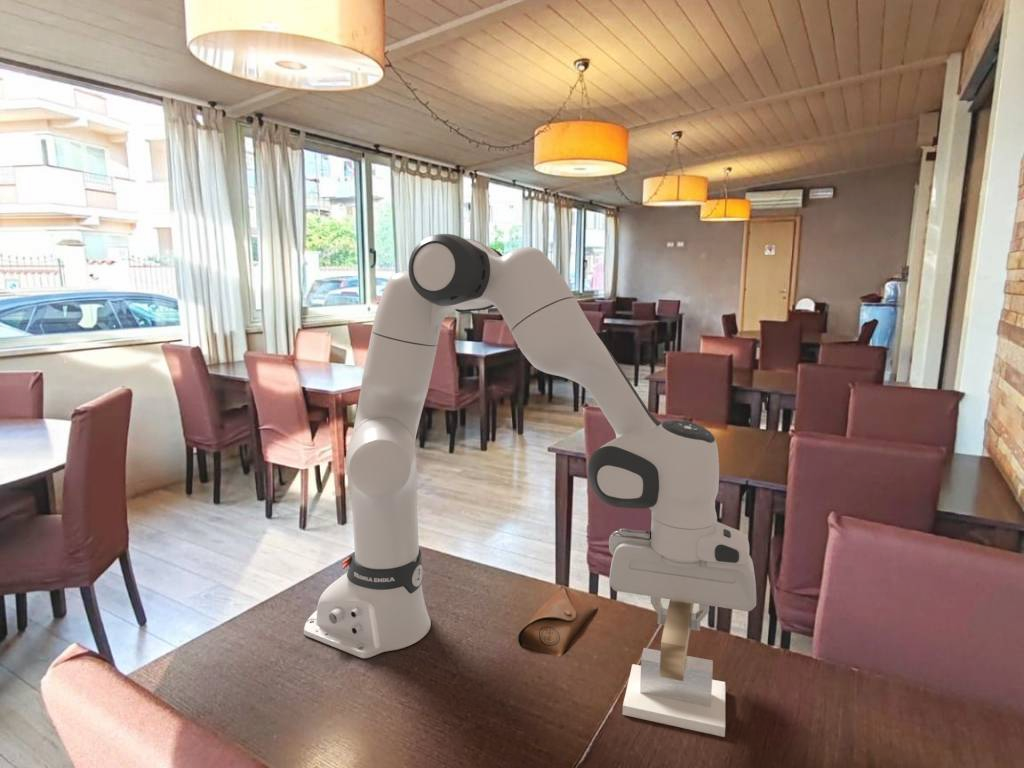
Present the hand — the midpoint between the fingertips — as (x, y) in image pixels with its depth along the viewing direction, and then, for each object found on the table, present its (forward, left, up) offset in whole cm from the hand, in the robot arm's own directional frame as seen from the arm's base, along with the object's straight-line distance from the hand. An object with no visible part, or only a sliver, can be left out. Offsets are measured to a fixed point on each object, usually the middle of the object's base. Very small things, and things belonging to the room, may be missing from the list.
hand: (678, 625), depth 90 cm
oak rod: (0, 0, -2) cm, 2 cm away
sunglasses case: (-21, +14, -13) cm, 29 cm away
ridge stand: (0, 0, -13) cm, 13 cm away
